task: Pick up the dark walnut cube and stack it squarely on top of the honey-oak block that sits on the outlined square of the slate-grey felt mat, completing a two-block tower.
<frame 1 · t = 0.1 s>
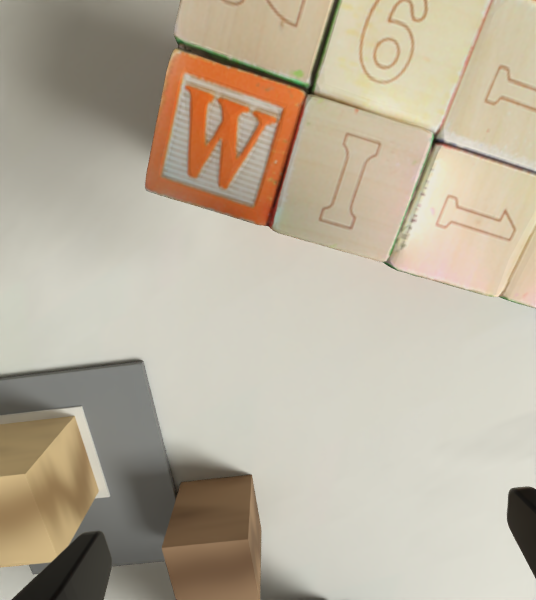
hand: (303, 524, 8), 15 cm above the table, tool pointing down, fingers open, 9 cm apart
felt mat: (84, 475, 25), on the table
walnut cube: (222, 505, 26), on the table
stack of blocks: (413, 192, 20), on the table
oak base block: (43, 459, 24), resting on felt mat
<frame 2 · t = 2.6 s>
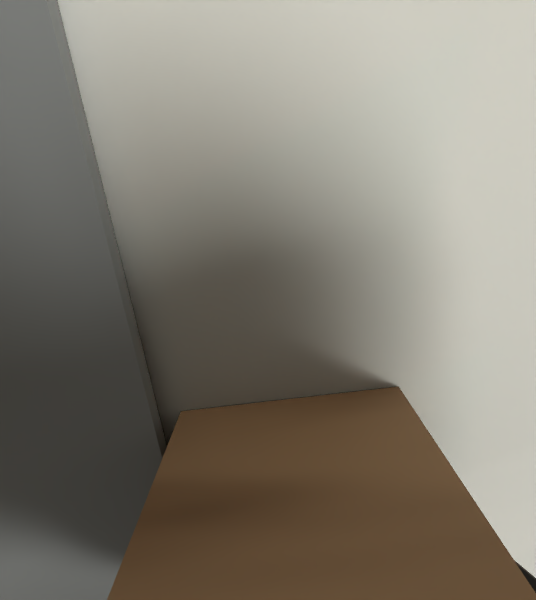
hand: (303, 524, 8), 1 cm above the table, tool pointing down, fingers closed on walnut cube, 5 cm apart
walnut cube: (299, 487, 9), on the table, touching gripper
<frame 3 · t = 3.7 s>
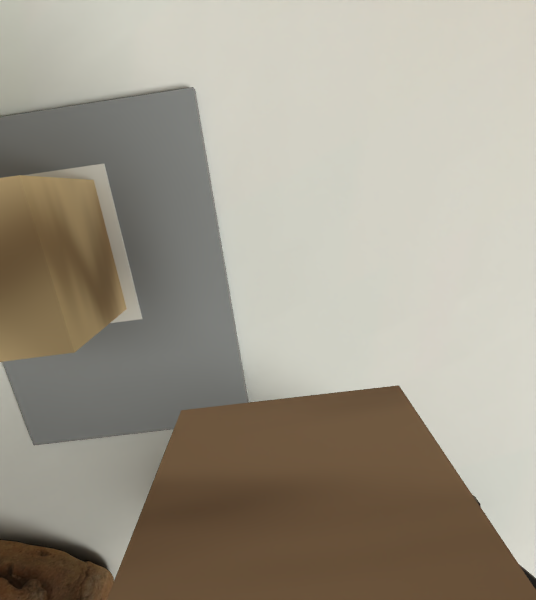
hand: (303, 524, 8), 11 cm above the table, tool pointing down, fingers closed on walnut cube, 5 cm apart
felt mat: (105, 289, 18), on the table
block: (43, 574, 24), on the table
walnut cube: (300, 486, 9), point 10 cm above the table, touching gripper
oak base block: (48, 256, 17), resting on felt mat
when the fingers open (7 cm above the table, at t = 5.3 s): walnut cube stays where it is, resting on oak base block.
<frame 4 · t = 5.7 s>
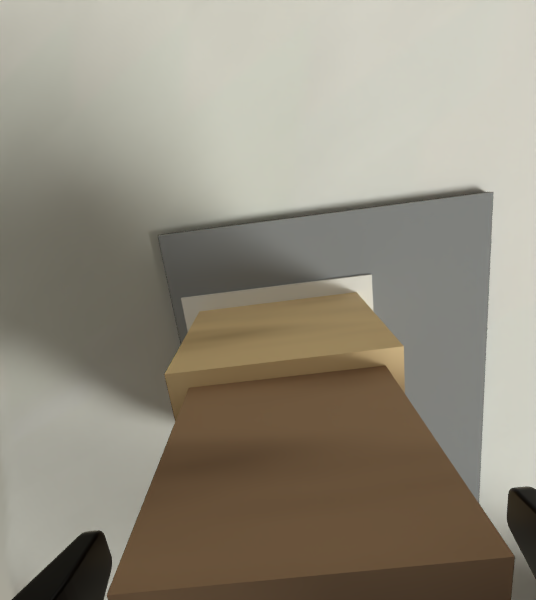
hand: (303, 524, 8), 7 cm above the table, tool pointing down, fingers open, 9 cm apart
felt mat: (337, 403, 16), on the table
walnut cube: (296, 458, 10), point 5 cm above the table, touching oak base block
oak base block: (286, 372, 15), resting on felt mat, touching walnut cube
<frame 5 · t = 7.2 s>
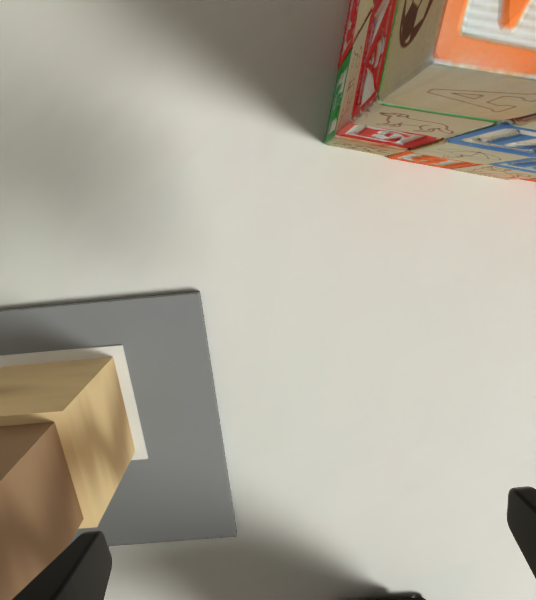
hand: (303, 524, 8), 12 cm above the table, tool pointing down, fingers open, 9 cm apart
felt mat: (118, 432, 21), on the table
walnut cube: (12, 476, 16), point 5 cm above the table, touching oak base block
oak base block: (71, 410, 20), resting on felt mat, touching walnut cube
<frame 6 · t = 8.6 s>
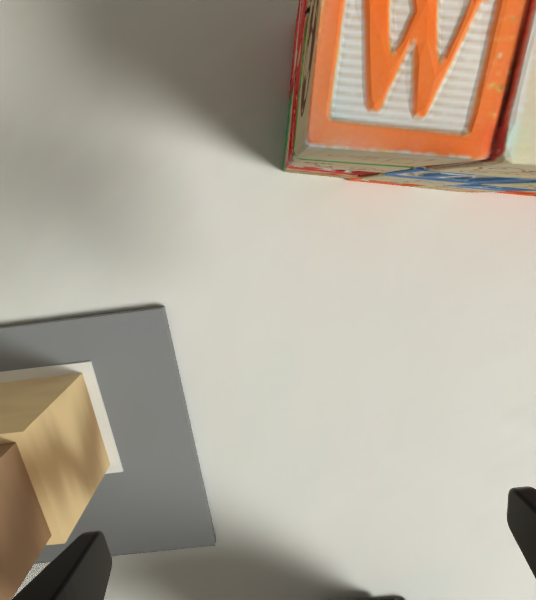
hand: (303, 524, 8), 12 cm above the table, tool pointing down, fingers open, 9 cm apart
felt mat: (93, 446, 22), on the table
stack of blocks: (513, 125, 17), on the table
oak base block: (45, 426, 21), resting on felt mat, touching walnut cube
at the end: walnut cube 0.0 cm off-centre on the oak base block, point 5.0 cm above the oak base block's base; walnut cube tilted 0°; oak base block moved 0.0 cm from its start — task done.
